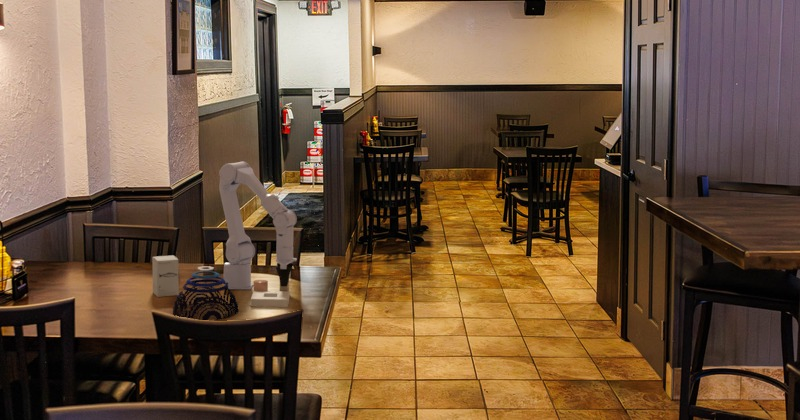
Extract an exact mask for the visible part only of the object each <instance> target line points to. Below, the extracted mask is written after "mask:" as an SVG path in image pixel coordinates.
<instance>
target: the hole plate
mask: <svg viewBox="0 0 800 420" xmlns="http://www.w3.org/2000/svg"><path fill="white" fill-rule="evenodd" d="M290 293H291V292H290V290H289V291H280V290H279V291H278V290H276V291H274V290H273V291H272V290H271V291H269V290H268V291H254V292H253V293H252V294H251V297H250V307H251V306H263V307H264V306H265V307H267V308H269V307H270V308H273V307H274V308H275V307H276V308H279V307H280V308H288V307H289V303H290V295H291V294H290Z"/></svg>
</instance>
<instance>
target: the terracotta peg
mask: <svg viewBox="0 0 800 420" xmlns="http://www.w3.org/2000/svg"><path fill="white" fill-rule="evenodd" d="M268 282H269V281H268V280H267V279H256V280H254V281H253V282H252V283H253V285H252V287H253V289H252V291H253V292H254V291H269V286H268V284H269V283H268Z"/></svg>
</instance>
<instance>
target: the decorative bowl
mask: <svg viewBox="0 0 800 420" xmlns="http://www.w3.org/2000/svg"><path fill="white" fill-rule="evenodd" d="M214 268H215V267H214V266H210V265H209V266H205V265H203V266H198V267H197V270H198V271H195V272H194V273H192V274H191V277H190V278H188V279H187V280H186V281H185V283H184V285H183V286H182V289H183V290H185V291H183V290H181V291H180V292H179V295H176V299H175V300H174V302H173V307H172V308H173V309H172V315H173V316H174V315H177V316H179V317H180V316H181V317H187V319H188V318H190V319H191V318H194V319H197V320H198V319H200V318H201V317H202V318H201V319H200V320H210V318H211V317H213V318H215V321H218V320H219V321H220V320H226V319H228V318H231V317H234V316H235V315H237V314H238V312H239V303H238V302H237V299H236V296H235V294H234V292H232V290H231V289H229V288H228V285H227V283H226V282H225V280H224V277H223V278H222V277H221V276H220V273H218V272H216V271H213V270H214ZM206 273H207V275H198V274H206ZM208 273H209V274H213V275H208ZM224 284H225V285H224ZM188 285H189V286H190V287H187V286H188ZM220 285H221V286H220ZM222 285H223V286H222ZM216 286H220V287H218V288H216ZM221 291H223V295H222V294H221ZM208 294H209V295H210V296H209V295H208ZM188 306H190V307H189V309H188ZM214 306H216V307H214Z"/></svg>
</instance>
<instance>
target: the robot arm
mask: <svg viewBox="0 0 800 420" xmlns="http://www.w3.org/2000/svg"><path fill="white" fill-rule="evenodd" d="M218 175H219V183H218V184H219V185H218V190H219V195H220V201H221V204H222V208H223V209H222V210H223V213H224V217H225V222H226V223H225V224H226V228H227V231H228V239H227V241H226V243H225V246H226V249H225V257H226V259H227V261H228V262H224V264H223V279H224V280H225V282H226V283H227V285H228V288H229V289H230V290H251V289H252V287H253V282H252V281H251V280H252V278H251V277H252V273H251V272H252V259H253V258H254V256H255V254H256V248H255V245H254V244H253V243H252V240H251V237H249V235H247V234H246V232H245V227H244V222H243V217H242V213H241V208H240V204H239V200H238V194H237V189H238V187H239V186H240V185H245V186H247V187H248V188H249V189H250V191H252V192H253V193H254V194H255V195H256V196H257V197H258V199H259V200H261V207H262V208H263V209H264V210H265V211H266V212H267V214H268V215H269V216H270V217H271V218H272V223H273V226H274V227H275V233H276V247H275V248H276V253H275V257H276V258H275V262H276V265H275V270H276V272H277V274H278V277H279V285H280V284H281V286H287V285H288V280H289V281H290V275H291V272H292V271H293V267H294V262H297V259H298V258H296V257H294V232H295V231H294V230H295V229H294V228H295V227H294V226H295V225H296V224H297V221H298V217H297V215H296V212H295V211H293V209H288V207H286V206H285V205H284V204H283V203H282V202H281V200H280V197H279V196H278V195H275V194H273V193H270V192H269V191H267V189H266V188H265V186H264V185H263V184H262V182H261V181H260V180H259V179H258V177H257V176H256V175H255V173H254V169H253V168H252V167H251V166H250V164H249V163H248V162H246V161H243V160H242V161H239V162H238V161H237V162H231V163H224V164H223V165H222V166H221V168H220V169H219V171H218ZM224 285H225V284H223V286H224Z"/></svg>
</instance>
